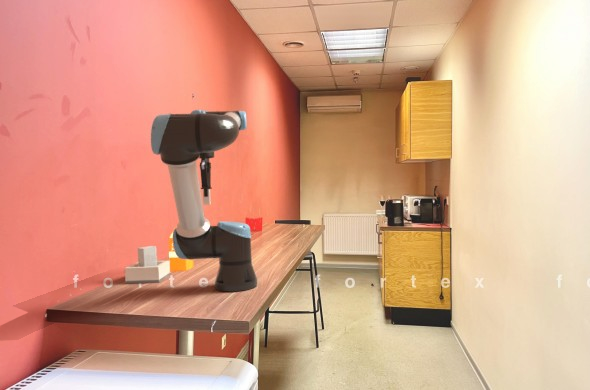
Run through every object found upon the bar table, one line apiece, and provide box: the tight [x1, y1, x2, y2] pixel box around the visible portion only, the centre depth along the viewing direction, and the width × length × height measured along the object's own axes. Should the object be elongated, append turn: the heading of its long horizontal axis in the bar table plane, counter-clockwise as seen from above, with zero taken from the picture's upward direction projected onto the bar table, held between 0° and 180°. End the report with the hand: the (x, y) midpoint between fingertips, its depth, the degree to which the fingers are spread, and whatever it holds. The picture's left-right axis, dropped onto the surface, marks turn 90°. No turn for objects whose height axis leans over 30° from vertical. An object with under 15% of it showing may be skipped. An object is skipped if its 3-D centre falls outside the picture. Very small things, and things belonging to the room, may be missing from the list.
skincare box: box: [137, 245, 158, 267], centre depth 155 cm, size 6×4×12 cm
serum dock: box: [124, 260, 171, 284], centre depth 156 cm, size 13×13×6 cm
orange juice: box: [168, 224, 194, 272], centre depth 174 cm, size 8×9×20 cm
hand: (207, 204), depth 163 cm, fingers closed
